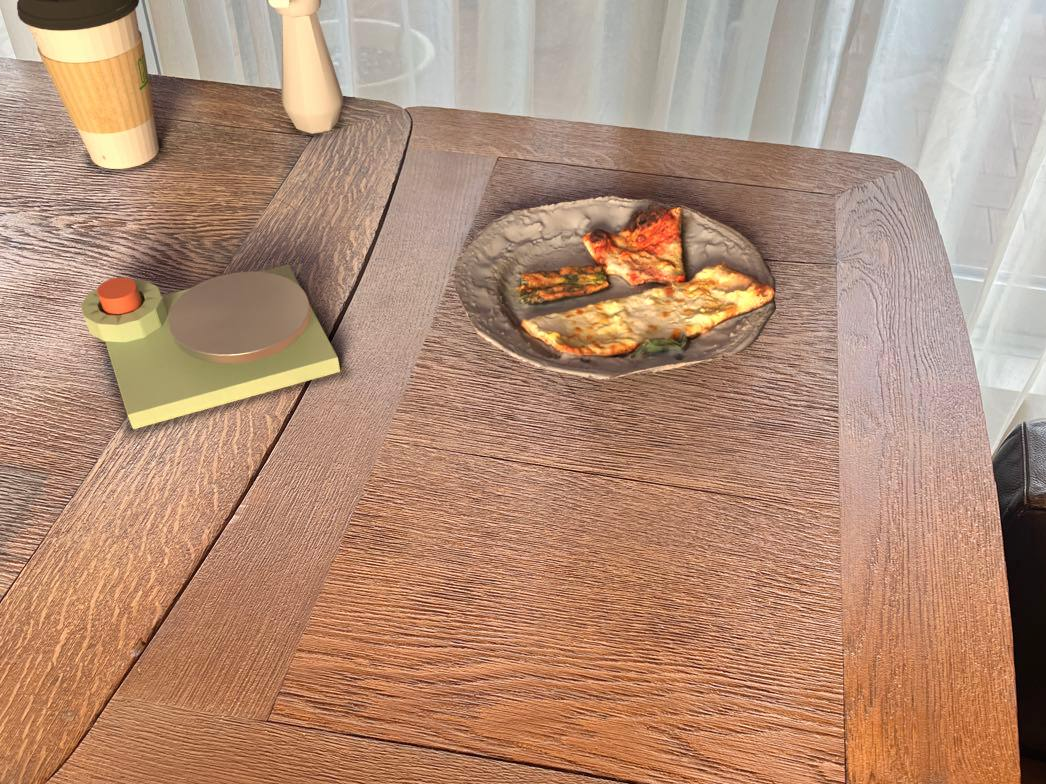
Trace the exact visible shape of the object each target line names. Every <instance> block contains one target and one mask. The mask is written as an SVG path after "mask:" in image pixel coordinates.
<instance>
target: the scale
mask: <svg viewBox="0 0 1046 784" xmlns="http://www.w3.org/2000/svg"><path fill="white" fill-rule="evenodd" d="M259 272H265V273H271V274H276V275H279V276H282V277H285V278H287V279H289V280H291V281H293V282H295V283H296V284H297V285H299V286H300V287H301V284H300V283H299V281H298V279H297V277H296V276H295V274H294V272H293V269H292V268H291V267H290V265H289V264H285V265H281V266H276V267H273V268H268V269H264V270H260V271H259ZM131 279H132V280H133V281H134V282H135V283H136V285H137V288H138V291H139V294H140V296H141V299H142V305H141V307H140V308H138V309H137V310H135V311H134V312H131V313H127V314H123V315H119V316H117V315H108V314H107V313H105V311H104V310H103V307H102V305H101V302H100V299H99V297H98V294H97V289H98V287H97V288H95V289H93V290H92V291H90V292H88V294H86V296H85V298H84V299H83V301H82V303H81V304H80V310H81V313H82V317H83V319H84V321H85V324H86V326H87V329H88V331H89V333H90V335H92V337H95V338H97V339H98V340H101V341H103V342H105V345H106V348H107V352H108V356H109V357H110V362H111V365H112V368H113V372H114V375H115V378H116V382H117V386H118V388H119V391H120V395H121V398H122V401H123V405H124V408H125V411H126V415H127V418H128V420H129V423H130V426H131V428H132V429H133V430H136V429H139V428H143V427H146V426H151V425H154V424H157V423H161V422H164V421H169V420H172V419H176V418H180V417H183V416H186V415H190V414H194V413H197V412H201V411H204V410H207V409H211V408H216V407H219V406H222V405H226V404H230V403H232V402H233V403H234V402H236V401H240V400H243V399H248V398H252V397H254V396H258V395H261V394H265V393H268V392H273V391H276V390H279V389H283V388H287V387H291V386H293V385H297V384H300V383H305V382H308V381H312V380H316V379H319V378H323V377H326V376H330V375H333V374H337V373H340V372H341V366H340V361H339V356H338V354H337V353H336V351H335V350H334V349H335V348H334V347H333V345H332V344H331V342H330V339H329V337H328V336H327V334H326V332H325V330H324V329H323V327H322V325H321V323H320V321H319V318H318V317H317V315H316V314H315V311H314V310H313V308H312V306H311V304H310V303H309V306H310V312H311V316H310V321H309V325H308V327H307V329H306V330H305V332H304V333H303V334H302V336H301V337H300V338H299V339H298V340H297V341H295V342H294V343H293V344H292V345H290V346H289V347H287V348H286V349H284V350H282V351H280V352H278V353H276V354H274V355H271V356H269V357H266V358H263V359H259V360H255V361H251V362H244V363H234V364H221V363H212V362H207V361H203V360H199V359H196V358H194V357H192V356H190V355H188V354H186V353H185V352H183V351H182V350H181V349H180V348H179V347H178V346H177V345H176V344H175V342H174V340H173V338H172V336H171V333H170V330H169V326H168V317H169V313H170V310H171V308H172V306H173V305H174V303H175V302H176V301H177V300H178V298H179V297H180V296H182V295H183V294H184V293H185V292H186V291H188V290H189V289H190V288H187V289H182V290H178V291H175V292H170V293H166V294H163V295H162V293H161V290H160V288H159V286H158V285H156V284H153V283H152V282H150V281H148V280H145V279H135V278H131Z"/></svg>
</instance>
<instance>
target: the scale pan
mask: <svg viewBox="0 0 1046 784" xmlns="http://www.w3.org/2000/svg"><path fill="white" fill-rule="evenodd" d="M299 285H300V284H299ZM299 285H297V284H296V283H295V282H293V281H291V280H289V279H287V278H285V277H282V276H279V275H276V274H271V273H265V272H260V271H238V272H230V273H226V274H222V275H218V276H215V277H212V278H209V279H206V280H204V281H201V282H199V283H197V284H196V285H194V286H192V287H191V288H188V289H189V290H188V291H186V292H185V293H184V294H183V295H182V296H180V297H179V298H178V300H177V301H176V302H175V303H174V305H173V306H172V308H171V310H170V313H169V317H168V326H169V330H170V333H171V336H172V338H173V340H174V342H175V344H176V345H177V346H178V347H179V348H180V349H181V350H182V351H183V352H185V353H186V354H188V355H190V356H192V357H194V358H196V359H199V360H203V361H207V362H212V363H221V364H234V363H244V362H251V361H255V360H259V359H263V358H266V357H269V356H271V355H274V354H276V353H278V352H280V351H282V350H284V349H286V348H287V347H289V346H290V345H292V344H293V343H294V342H295V341H297V340H298V339H299V338H300V337H301V336H302V334H303V333H304V332H305V330H306V329H307V327H308V325H309V321H310V316H311V312H310V306H311V305H310V306H309V304H310V301H309V298H308V296H307V293H306V291H304V288H302V287H301V285H300V286H299Z"/></svg>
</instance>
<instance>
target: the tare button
mask: <svg viewBox="0 0 1046 784" xmlns="http://www.w3.org/2000/svg"><path fill="white" fill-rule="evenodd" d="M132 279H133V278H129V277H121V276H120V277H113V278H110V279H107V280H105V281H103V282H102V283H101V284H100V285H99V286H98V287H97V288H98V289H97V288H96V289H97V294H98V297H99V299H100V302H101V305H102V307H103V310H104V311H105V313H107V314H108V315H117V316H119V315H123V314H127V313H131V312H134V311H135V310H137V309H138V308H140V307H141V305H142V299H141V296H140V294H139V291H138V288H137V285H136V283H135V282H134V281H133V280H132Z"/></svg>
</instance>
